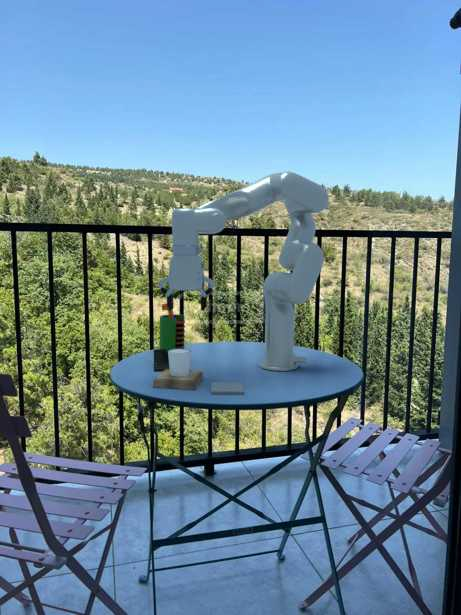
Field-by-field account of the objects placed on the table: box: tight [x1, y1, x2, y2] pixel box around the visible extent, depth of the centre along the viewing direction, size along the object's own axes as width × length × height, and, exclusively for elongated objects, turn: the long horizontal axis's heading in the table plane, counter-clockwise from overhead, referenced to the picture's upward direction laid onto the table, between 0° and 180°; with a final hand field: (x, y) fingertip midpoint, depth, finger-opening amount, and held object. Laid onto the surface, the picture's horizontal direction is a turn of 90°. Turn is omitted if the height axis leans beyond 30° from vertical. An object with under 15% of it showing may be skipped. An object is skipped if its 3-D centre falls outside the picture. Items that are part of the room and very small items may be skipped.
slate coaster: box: [210, 381, 245, 395], centre depth 145 cm, size 9×9×1 cm
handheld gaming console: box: [153, 348, 170, 373], centre depth 169 cm, size 12×7×10 cm
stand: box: [152, 369, 204, 391], centre depth 151 cm, size 12×12×2 cm
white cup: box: [168, 348, 192, 377], centre depth 151 cm, size 7×7×7 cm
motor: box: [158, 303, 186, 352], centre depth 176 cm, size 10×9×20 cm
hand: (187, 309), depth 152 cm, fingers open, 9 cm apart
